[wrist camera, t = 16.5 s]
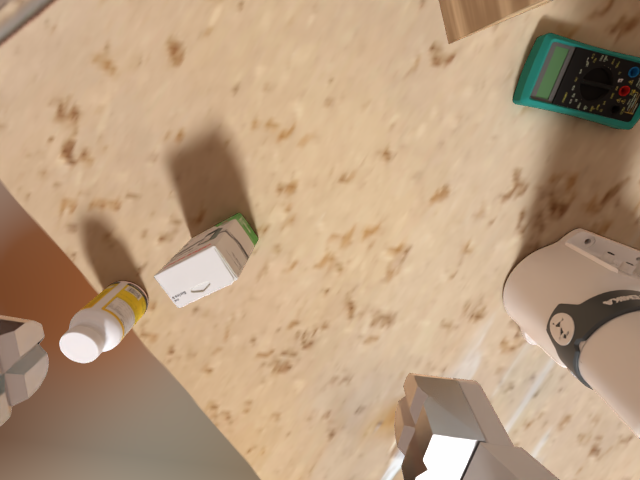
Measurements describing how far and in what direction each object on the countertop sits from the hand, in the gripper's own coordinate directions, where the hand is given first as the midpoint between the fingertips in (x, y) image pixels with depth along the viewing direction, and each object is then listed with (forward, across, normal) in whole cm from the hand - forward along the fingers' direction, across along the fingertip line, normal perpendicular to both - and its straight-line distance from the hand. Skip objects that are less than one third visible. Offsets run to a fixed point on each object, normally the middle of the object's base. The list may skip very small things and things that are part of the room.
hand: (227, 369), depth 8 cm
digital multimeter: (+40, -30, -12) cm, 52 cm away
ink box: (+39, +10, +14) cm, 43 cm away
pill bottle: (+39, +24, +26) cm, 53 cm away
